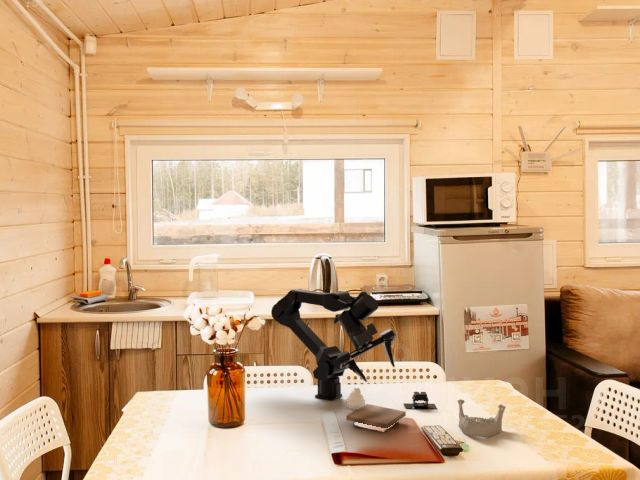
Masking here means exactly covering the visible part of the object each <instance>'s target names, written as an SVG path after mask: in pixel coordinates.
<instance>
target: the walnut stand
mask: <svg viewBox="0 0 640 480" xmlns="http://www.w3.org/2000/svg"><path fill="white" fill-rule="evenodd" d="M406 414H407V413H406V410H405V411H404V410H400V409H394V408H389V407H384V406H379V405H373V404H369V403H367V404H366V403H365V406H363V407H361V408H359V409H355V410H354V411H351V412H350V413H349V414H346V416H345V417H346V418H345V419H346V421H349V422H353V423H354V422H358V423H363V424H367V425H372V426H376V427H381V428H388V427H390V426H391V425H393V424H394V423H396V422H397V421H398V422H399V421H400V420H401V419H403V418H404V417H406Z"/></svg>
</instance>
